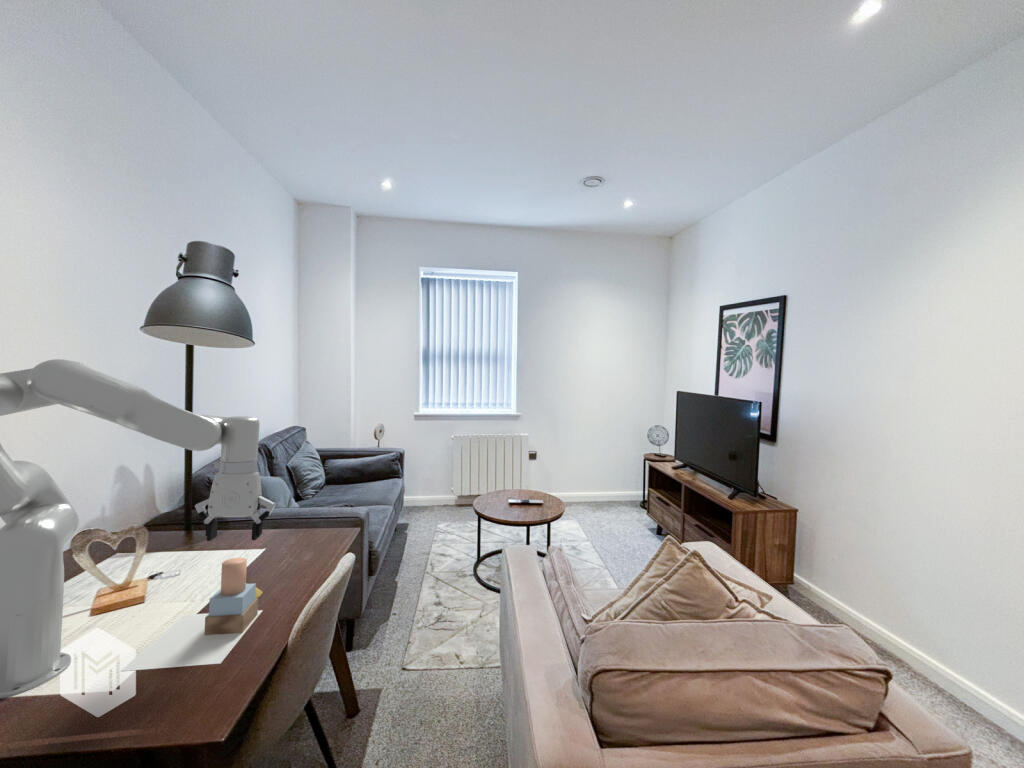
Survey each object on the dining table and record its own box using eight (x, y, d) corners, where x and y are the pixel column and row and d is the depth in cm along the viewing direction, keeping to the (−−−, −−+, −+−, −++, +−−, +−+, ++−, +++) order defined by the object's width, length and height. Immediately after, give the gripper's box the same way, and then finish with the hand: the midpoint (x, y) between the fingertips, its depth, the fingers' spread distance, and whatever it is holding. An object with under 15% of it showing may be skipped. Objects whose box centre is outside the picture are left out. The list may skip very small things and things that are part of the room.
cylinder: (216, 596, 96) (217, 566, 97) (227, 586, 101) (228, 558, 101) (239, 595, 97) (241, 565, 97) (249, 585, 102) (250, 557, 102)
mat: (120, 674, 82) (120, 671, 82) (184, 617, 103) (184, 614, 103) (220, 666, 85) (220, 663, 85) (262, 612, 106) (262, 610, 106)
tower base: (204, 635, 94) (205, 617, 95) (222, 616, 102) (223, 600, 102) (242, 632, 96) (243, 615, 96) (257, 614, 104) (258, 598, 104)
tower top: (208, 616, 95) (209, 598, 95) (224, 601, 102) (225, 584, 102) (242, 614, 96) (242, 597, 96) (255, 599, 103) (255, 583, 103)
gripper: (189, 469, 95) (184, 545, 94) (271, 470, 98) (266, 543, 97) (207, 464, 102) (202, 534, 102) (282, 465, 105) (278, 533, 105)
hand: (233, 538), depth 99 cm, fingers open, 9 cm apart
